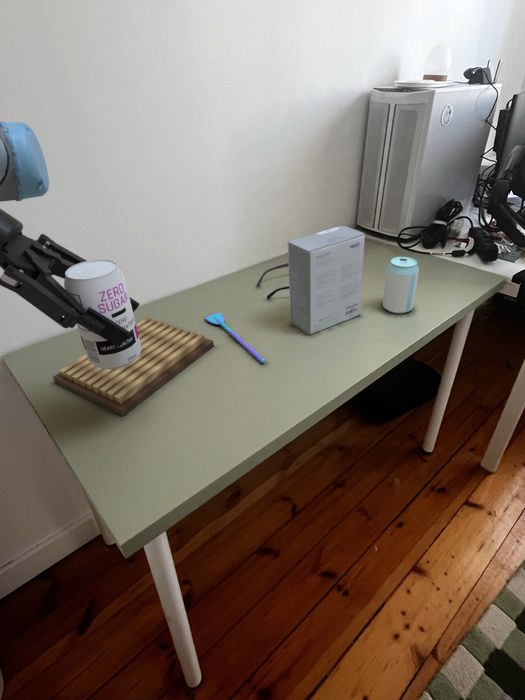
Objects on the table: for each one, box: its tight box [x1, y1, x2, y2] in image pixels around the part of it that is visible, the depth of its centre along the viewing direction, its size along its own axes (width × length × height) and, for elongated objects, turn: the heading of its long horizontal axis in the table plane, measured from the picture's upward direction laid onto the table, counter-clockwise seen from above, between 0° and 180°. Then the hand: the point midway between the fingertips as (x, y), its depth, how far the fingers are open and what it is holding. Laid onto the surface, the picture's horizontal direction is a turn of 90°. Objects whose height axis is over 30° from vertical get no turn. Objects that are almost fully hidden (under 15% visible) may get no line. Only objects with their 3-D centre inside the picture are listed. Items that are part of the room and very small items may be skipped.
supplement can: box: [63, 258, 142, 370], centre depth 65 cm, size 8×8×15 cm
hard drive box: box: [287, 225, 366, 336], centre depth 97 cm, size 16×8×20 cm, turn 123°
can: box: [382, 256, 420, 315], centre depth 101 cm, size 7×7×12 cm
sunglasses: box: [256, 262, 289, 300], centre depth 116 cm, size 14×16×5 cm
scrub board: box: [52, 316, 215, 417], centre depth 90 cm, size 26×20×3 cm
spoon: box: [205, 312, 266, 364], centre depth 97 cm, size 25×4×1 cm, turn 35°
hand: (129, 324), depth 66 cm, fingers closed on supplement can, 8 cm apart
